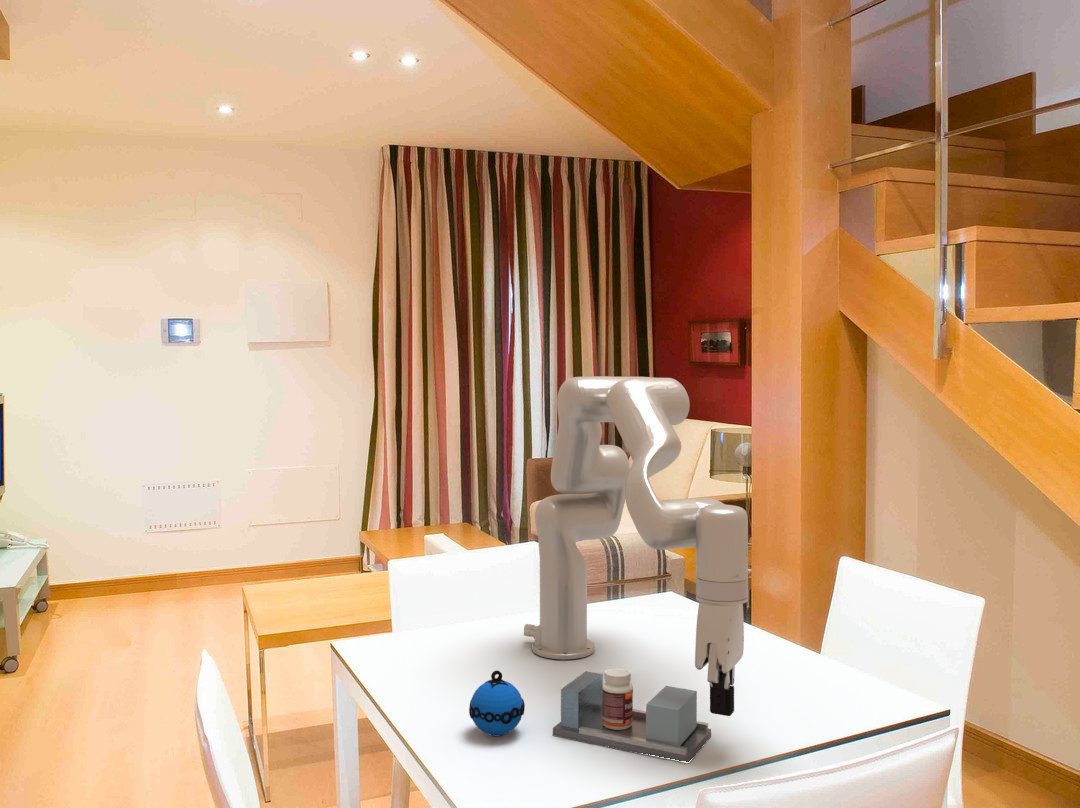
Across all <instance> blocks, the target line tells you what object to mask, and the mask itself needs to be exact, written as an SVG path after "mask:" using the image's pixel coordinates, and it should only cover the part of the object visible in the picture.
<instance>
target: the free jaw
mask: <svg viewBox="0 0 1080 808" xmlns="http://www.w3.org/2000/svg"><path fill="white" fill-rule="evenodd" d="M697 693H698V692H697V690H693V689H687V688H681V687H675V686H672V685H671V686H670V685H665V686H664V687H663V688H662V689H661V690H660V691H658V693H657V694H655V695H654V696H653V697H652V698H651V699H650V700H649V701H648V702H647V703H646V704H645V709H646V710H645V712H646V740H651V741H656V742H661V743H666V744H671V745H676V746H681V744H682V743H683V742H684V741H685V740H686V739H687V738H688V736H689V735H690V734H691V733H692V732H693V731H694V730H695V728H696V727H697V720H698V719H697V716H698V715H697V714H698V713H697V712H698V711H697V710H698V709H697V706H698V701H697V699H698V695H697Z"/></svg>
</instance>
